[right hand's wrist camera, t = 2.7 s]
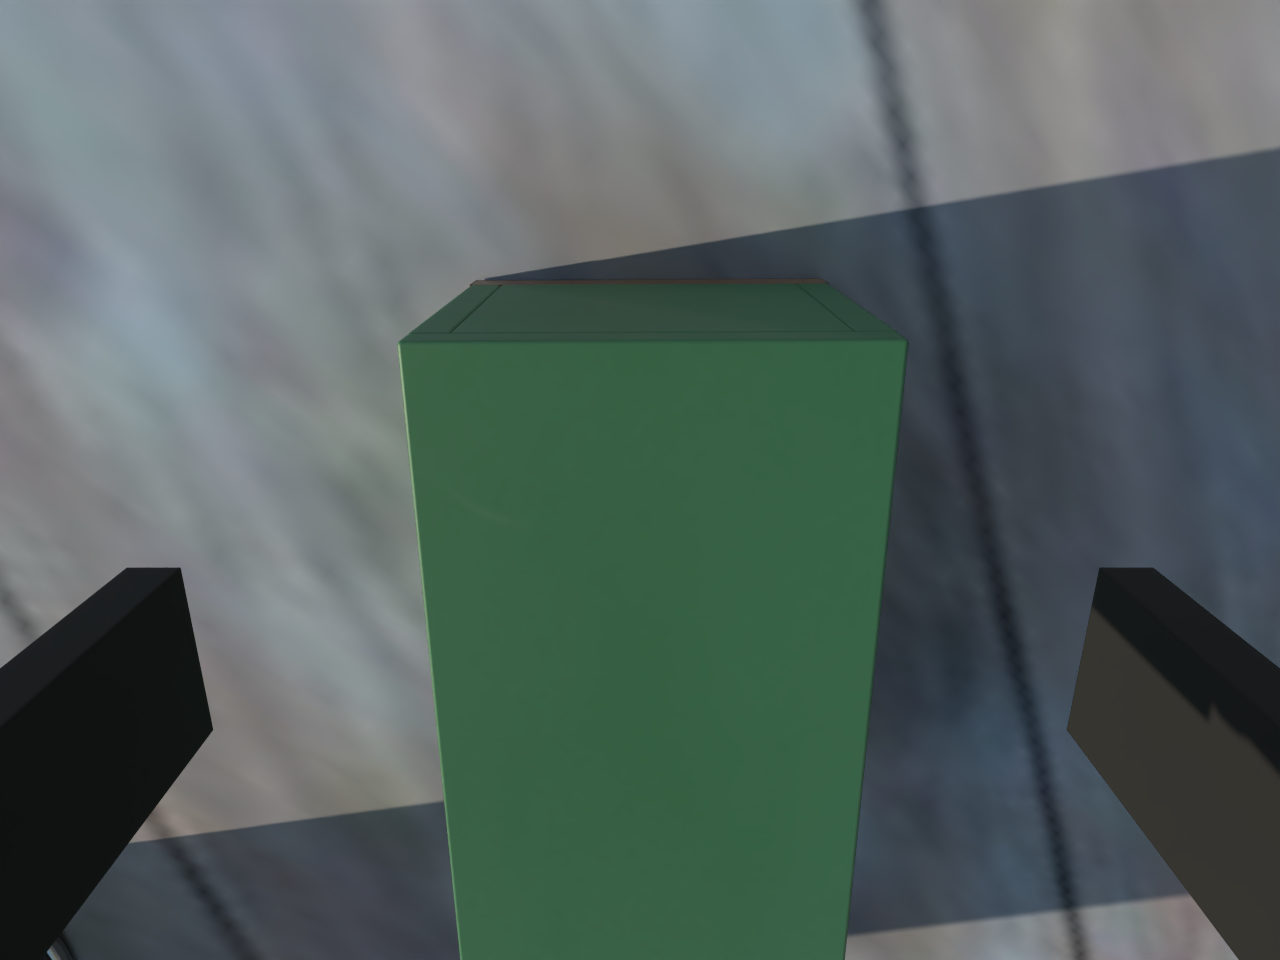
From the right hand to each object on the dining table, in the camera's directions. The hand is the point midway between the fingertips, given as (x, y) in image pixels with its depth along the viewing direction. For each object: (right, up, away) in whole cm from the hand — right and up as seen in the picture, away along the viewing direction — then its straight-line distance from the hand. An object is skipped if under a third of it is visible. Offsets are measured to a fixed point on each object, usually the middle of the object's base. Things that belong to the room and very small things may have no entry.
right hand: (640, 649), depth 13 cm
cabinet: (0, 0, +17) cm, 17 cm away
